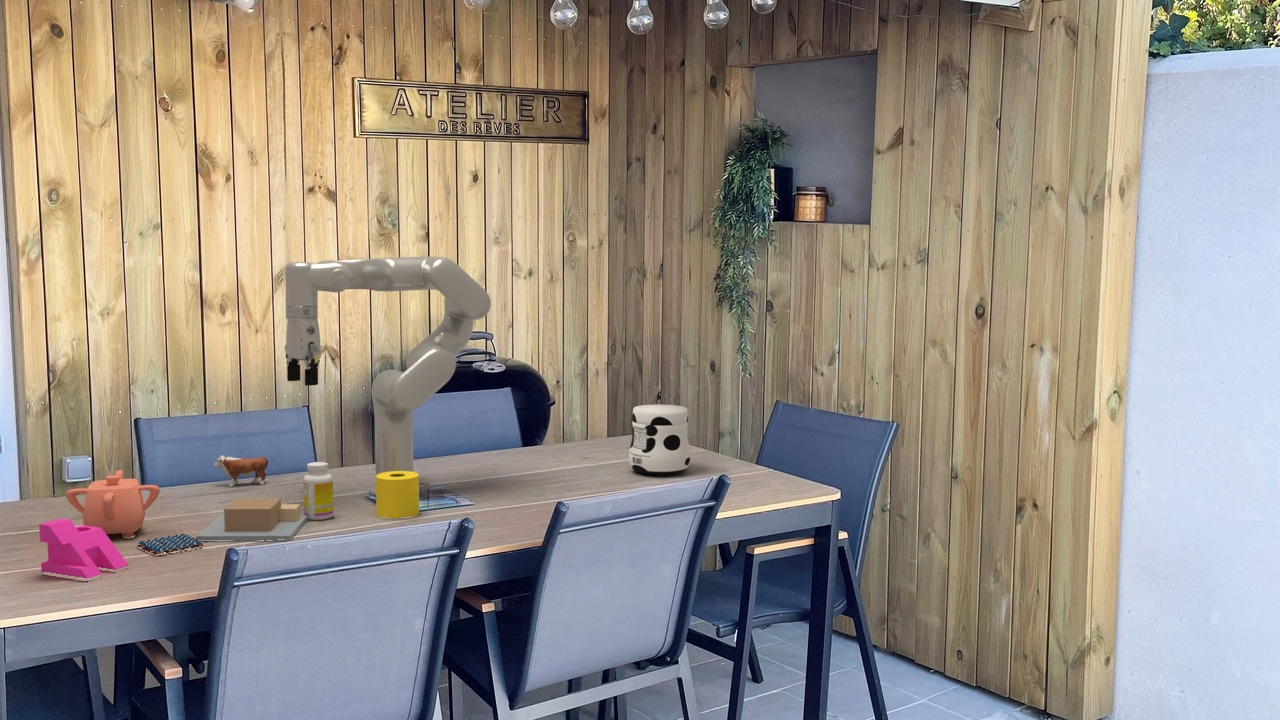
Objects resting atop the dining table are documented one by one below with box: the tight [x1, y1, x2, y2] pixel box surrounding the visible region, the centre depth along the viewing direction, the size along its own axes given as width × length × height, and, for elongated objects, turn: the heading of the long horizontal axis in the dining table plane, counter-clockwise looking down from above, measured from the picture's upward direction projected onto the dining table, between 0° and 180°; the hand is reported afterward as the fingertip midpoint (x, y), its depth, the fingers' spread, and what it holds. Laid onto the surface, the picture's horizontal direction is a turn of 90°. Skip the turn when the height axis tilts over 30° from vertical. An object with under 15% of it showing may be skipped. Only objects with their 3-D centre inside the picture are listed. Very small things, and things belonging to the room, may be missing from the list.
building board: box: [195, 498, 309, 542], centre depth 272 cm, size 20×18×6 cm
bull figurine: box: [213, 455, 269, 488], centre depth 318 cm, size 4×13×8 cm, turn 108°
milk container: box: [628, 403, 692, 476], centre depth 338 cm, size 17×17×18 cm
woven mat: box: [136, 533, 204, 555], centre depth 257 cm, size 10×11×2 cm
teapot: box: [65, 469, 161, 537], centre depth 268 cm, size 17×16×13 cm
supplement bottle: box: [302, 461, 334, 521], centre depth 284 cm, size 7×7×13 cm
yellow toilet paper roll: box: [375, 471, 420, 518], centre depth 288 cm, size 10×10×9 cm
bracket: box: [38, 518, 129, 578], centre depth 240 cm, size 12×10×10 cm
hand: (302, 383), depth 296 cm, fingers open, 9 cm apart
